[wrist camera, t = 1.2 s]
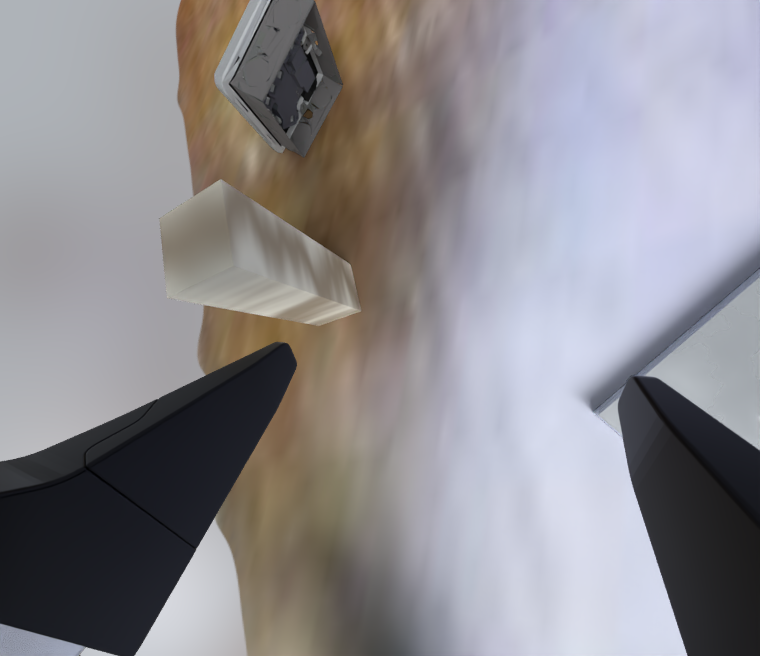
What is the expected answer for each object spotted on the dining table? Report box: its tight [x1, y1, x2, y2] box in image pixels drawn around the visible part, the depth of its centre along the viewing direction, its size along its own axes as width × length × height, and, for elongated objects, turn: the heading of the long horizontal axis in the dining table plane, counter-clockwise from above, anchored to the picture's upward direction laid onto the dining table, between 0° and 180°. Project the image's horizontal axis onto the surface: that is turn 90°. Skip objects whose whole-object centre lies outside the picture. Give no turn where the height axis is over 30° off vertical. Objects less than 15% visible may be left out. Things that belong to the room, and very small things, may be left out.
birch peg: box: [160, 179, 361, 326], centre depth 19 cm, size 4×4×13 cm
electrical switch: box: [214, 0, 343, 157], centre depth 24 cm, size 9×5×9 cm, turn 146°
